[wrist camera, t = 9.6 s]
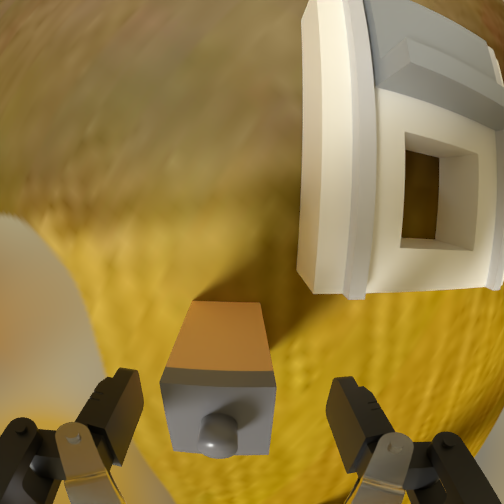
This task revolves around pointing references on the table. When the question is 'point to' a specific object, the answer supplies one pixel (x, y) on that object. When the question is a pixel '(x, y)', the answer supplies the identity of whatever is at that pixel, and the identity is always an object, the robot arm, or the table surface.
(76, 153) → the table surface
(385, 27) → the shutter
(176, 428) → the plug
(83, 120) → the table surface
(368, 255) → the socket
